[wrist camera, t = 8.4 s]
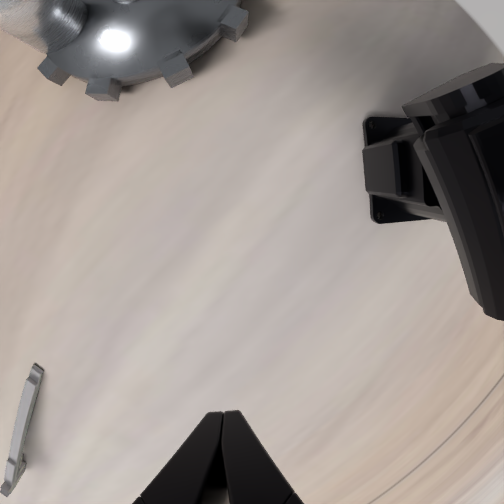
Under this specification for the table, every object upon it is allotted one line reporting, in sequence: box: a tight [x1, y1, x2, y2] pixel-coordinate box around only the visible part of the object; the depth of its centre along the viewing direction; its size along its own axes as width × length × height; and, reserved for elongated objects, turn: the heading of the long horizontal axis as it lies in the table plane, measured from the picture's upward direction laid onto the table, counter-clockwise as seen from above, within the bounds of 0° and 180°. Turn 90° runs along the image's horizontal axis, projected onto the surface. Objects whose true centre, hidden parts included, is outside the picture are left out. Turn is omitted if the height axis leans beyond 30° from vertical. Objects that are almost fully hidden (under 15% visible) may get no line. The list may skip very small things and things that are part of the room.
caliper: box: [0, 364, 43, 497], centre depth 19 cm, size 20×1×6 cm, turn 148°
